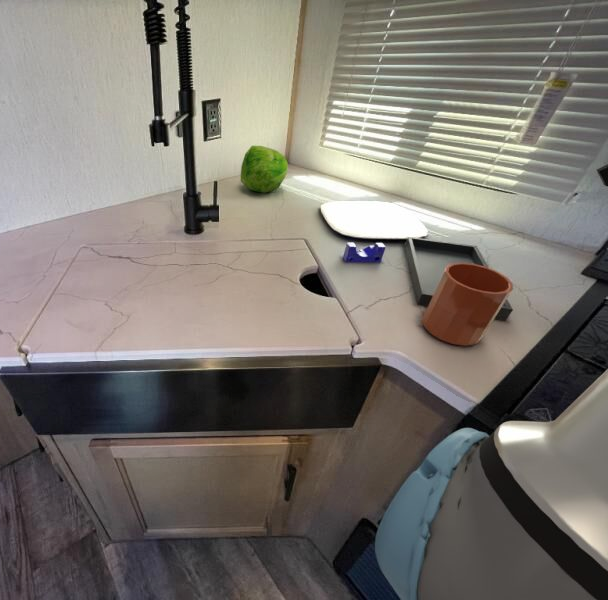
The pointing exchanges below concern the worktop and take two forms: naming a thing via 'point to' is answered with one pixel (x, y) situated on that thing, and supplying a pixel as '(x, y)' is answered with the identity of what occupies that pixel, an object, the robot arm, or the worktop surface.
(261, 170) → the lettuce
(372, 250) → the cable holder
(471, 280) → the terracotta plant pot
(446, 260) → the tray
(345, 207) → the plate
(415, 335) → the worktop surface
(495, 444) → the robot arm
